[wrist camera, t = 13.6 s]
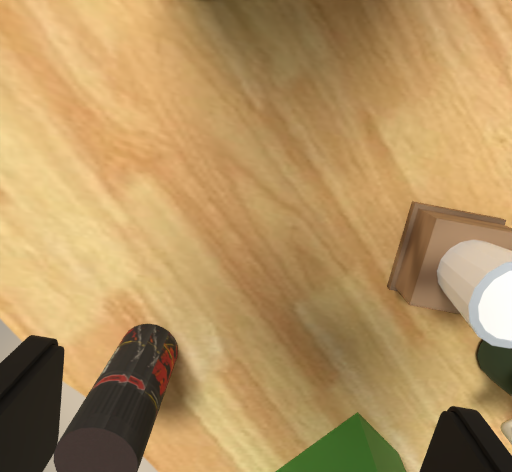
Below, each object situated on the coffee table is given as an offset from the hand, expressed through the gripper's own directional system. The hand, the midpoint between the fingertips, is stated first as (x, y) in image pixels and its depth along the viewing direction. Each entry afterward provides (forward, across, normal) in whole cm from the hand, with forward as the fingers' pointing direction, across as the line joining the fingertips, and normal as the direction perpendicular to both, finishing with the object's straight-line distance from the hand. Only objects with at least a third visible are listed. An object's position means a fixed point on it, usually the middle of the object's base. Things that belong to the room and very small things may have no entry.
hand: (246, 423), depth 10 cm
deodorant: (+31, +8, +18) cm, 36 cm away
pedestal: (+30, -19, +2) cm, 36 cm away
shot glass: (+26, -19, +2) cm, 32 cm away
